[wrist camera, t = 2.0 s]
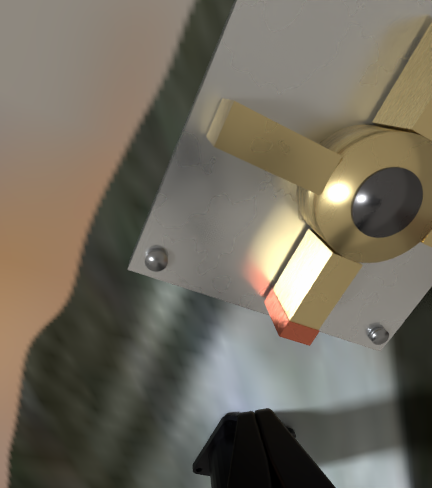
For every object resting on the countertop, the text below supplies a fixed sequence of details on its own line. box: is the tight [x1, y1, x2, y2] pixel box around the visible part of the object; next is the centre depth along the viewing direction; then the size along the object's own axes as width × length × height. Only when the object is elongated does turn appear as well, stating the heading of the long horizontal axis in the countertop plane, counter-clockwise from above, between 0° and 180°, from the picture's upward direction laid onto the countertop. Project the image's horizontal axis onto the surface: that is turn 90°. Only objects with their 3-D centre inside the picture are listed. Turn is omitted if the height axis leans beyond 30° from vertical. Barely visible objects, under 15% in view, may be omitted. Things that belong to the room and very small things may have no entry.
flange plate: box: [128, 0, 432, 351], centre depth 18 cm, size 18×18×2 cm
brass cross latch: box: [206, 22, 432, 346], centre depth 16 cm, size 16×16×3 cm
